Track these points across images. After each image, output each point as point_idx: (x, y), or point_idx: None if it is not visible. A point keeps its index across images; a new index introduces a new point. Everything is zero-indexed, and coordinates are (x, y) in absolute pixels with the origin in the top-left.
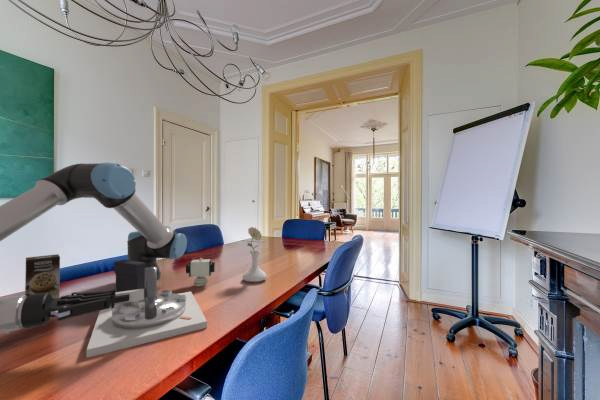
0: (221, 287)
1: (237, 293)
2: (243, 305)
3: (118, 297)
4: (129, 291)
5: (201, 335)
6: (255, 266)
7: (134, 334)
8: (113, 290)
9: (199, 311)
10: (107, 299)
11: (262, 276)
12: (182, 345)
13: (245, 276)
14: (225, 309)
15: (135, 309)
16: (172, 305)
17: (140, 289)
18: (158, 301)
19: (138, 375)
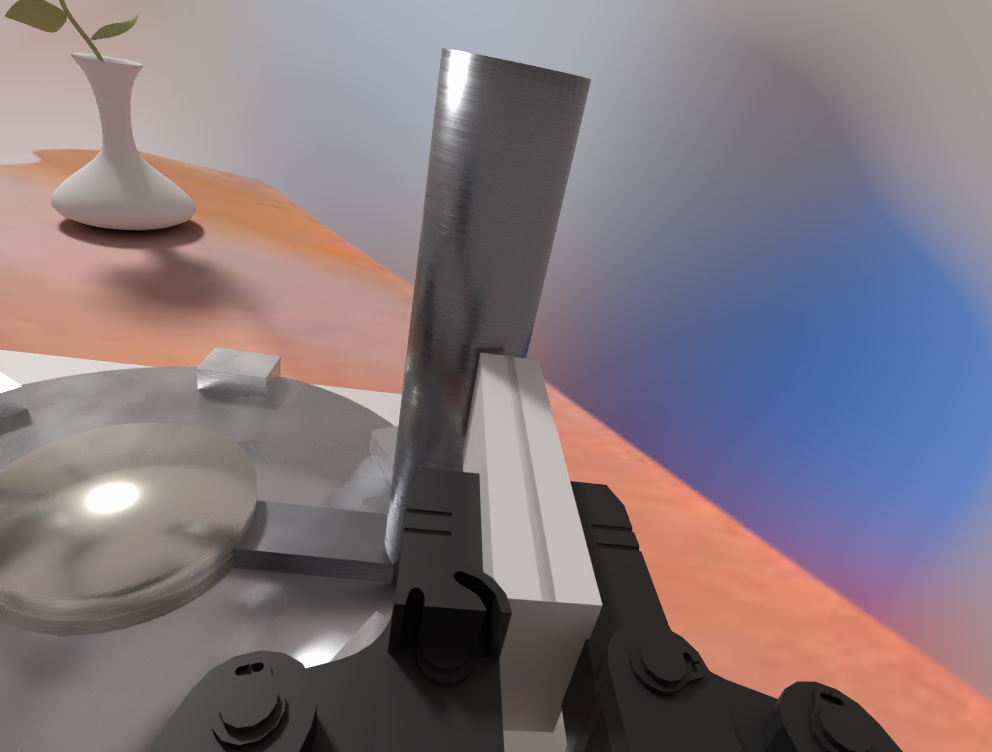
0: (47, 283)
1: (218, 285)
2: (372, 315)
3: (654, 594)
4: (531, 447)
5: (573, 464)
6: (134, 149)
7: (514, 739)
8: (501, 598)
9: (377, 397)
10: (880, 738)
11: (188, 197)
12: (644, 535)
13: (110, 206)
14: (362, 352)
15: (106, 664)
16: (306, 433)
17: (501, 372)
18: (231, 459)
19: (916, 748)
